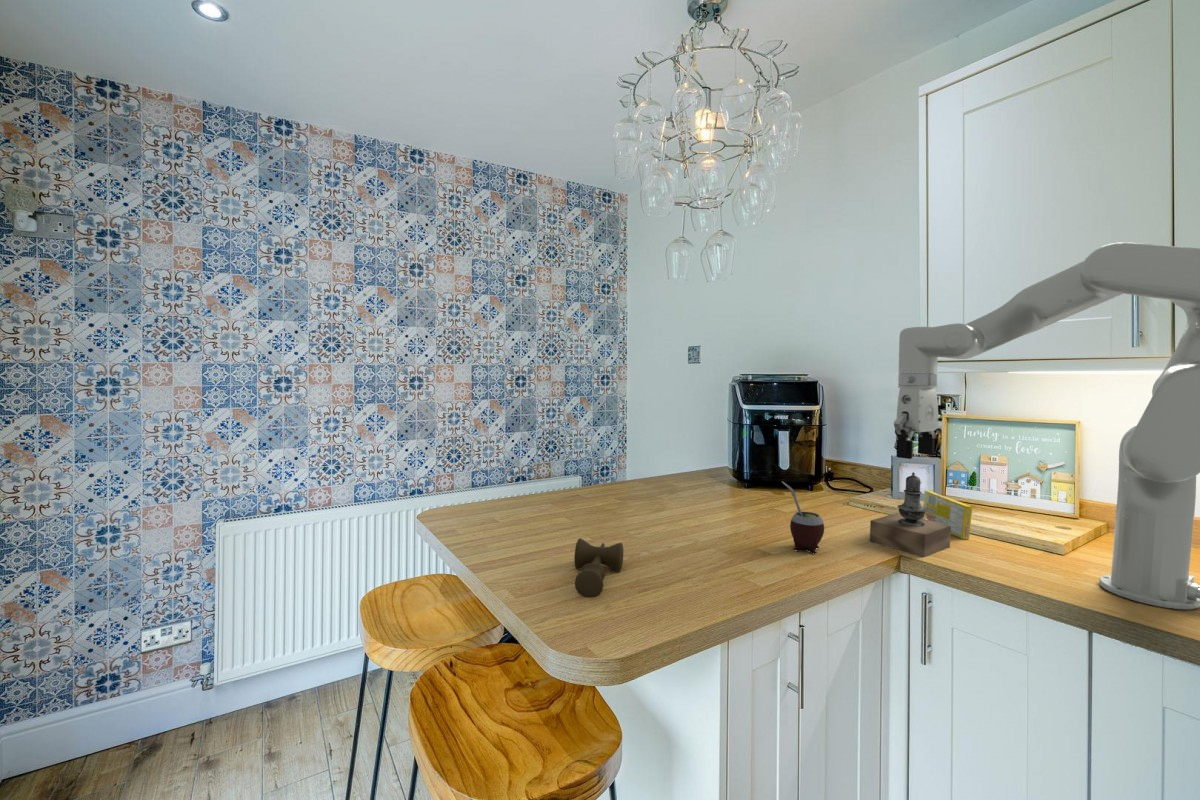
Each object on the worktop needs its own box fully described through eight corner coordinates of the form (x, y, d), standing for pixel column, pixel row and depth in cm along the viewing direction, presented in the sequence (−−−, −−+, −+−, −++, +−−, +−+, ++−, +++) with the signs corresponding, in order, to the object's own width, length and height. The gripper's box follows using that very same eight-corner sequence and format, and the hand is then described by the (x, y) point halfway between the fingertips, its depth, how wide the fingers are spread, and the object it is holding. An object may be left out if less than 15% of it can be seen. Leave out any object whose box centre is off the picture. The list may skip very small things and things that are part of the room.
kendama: (561, 599, 91) (580, 555, 111) (614, 604, 90) (625, 559, 110) (561, 567, 91) (581, 528, 110) (616, 571, 89) (626, 532, 109)
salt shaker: (930, 528, 116) (932, 475, 115) (901, 525, 117) (903, 473, 116) (920, 520, 121) (923, 470, 121) (893, 518, 123) (895, 468, 122)
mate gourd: (830, 553, 113) (832, 486, 112) (799, 556, 111) (801, 488, 110) (808, 542, 120) (810, 479, 119) (778, 545, 118) (780, 480, 117)
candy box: (971, 540, 123) (973, 506, 123) (962, 539, 123) (964, 506, 123) (929, 520, 139) (930, 489, 139) (921, 519, 139) (922, 489, 139)
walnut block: (949, 547, 118) (950, 525, 117) (924, 557, 111) (925, 534, 111) (896, 532, 128) (896, 512, 127) (869, 541, 121) (870, 520, 121)
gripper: (915, 382, 109) (913, 462, 110) (953, 381, 119) (950, 454, 120) (880, 382, 115) (878, 457, 116) (918, 381, 125) (916, 450, 126)
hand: (915, 456), depth 118 cm, fingers open, 9 cm apart
